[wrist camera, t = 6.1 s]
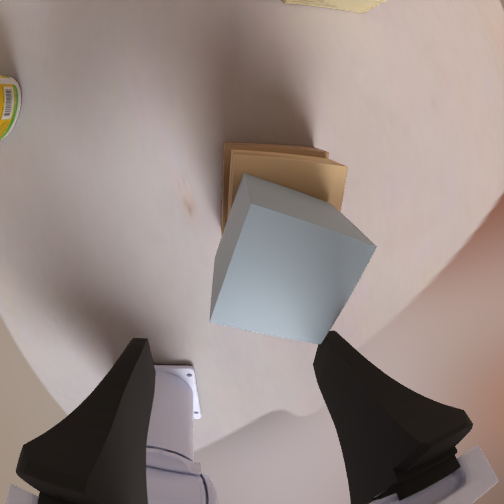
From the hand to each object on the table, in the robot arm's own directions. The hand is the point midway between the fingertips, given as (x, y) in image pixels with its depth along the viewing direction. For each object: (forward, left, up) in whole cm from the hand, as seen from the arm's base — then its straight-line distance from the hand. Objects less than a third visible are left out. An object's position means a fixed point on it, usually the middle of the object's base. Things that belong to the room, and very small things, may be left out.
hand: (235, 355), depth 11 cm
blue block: (+4, -2, -5) cm, 6 cm away
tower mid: (+4, -3, -8) cm, 9 cm away
